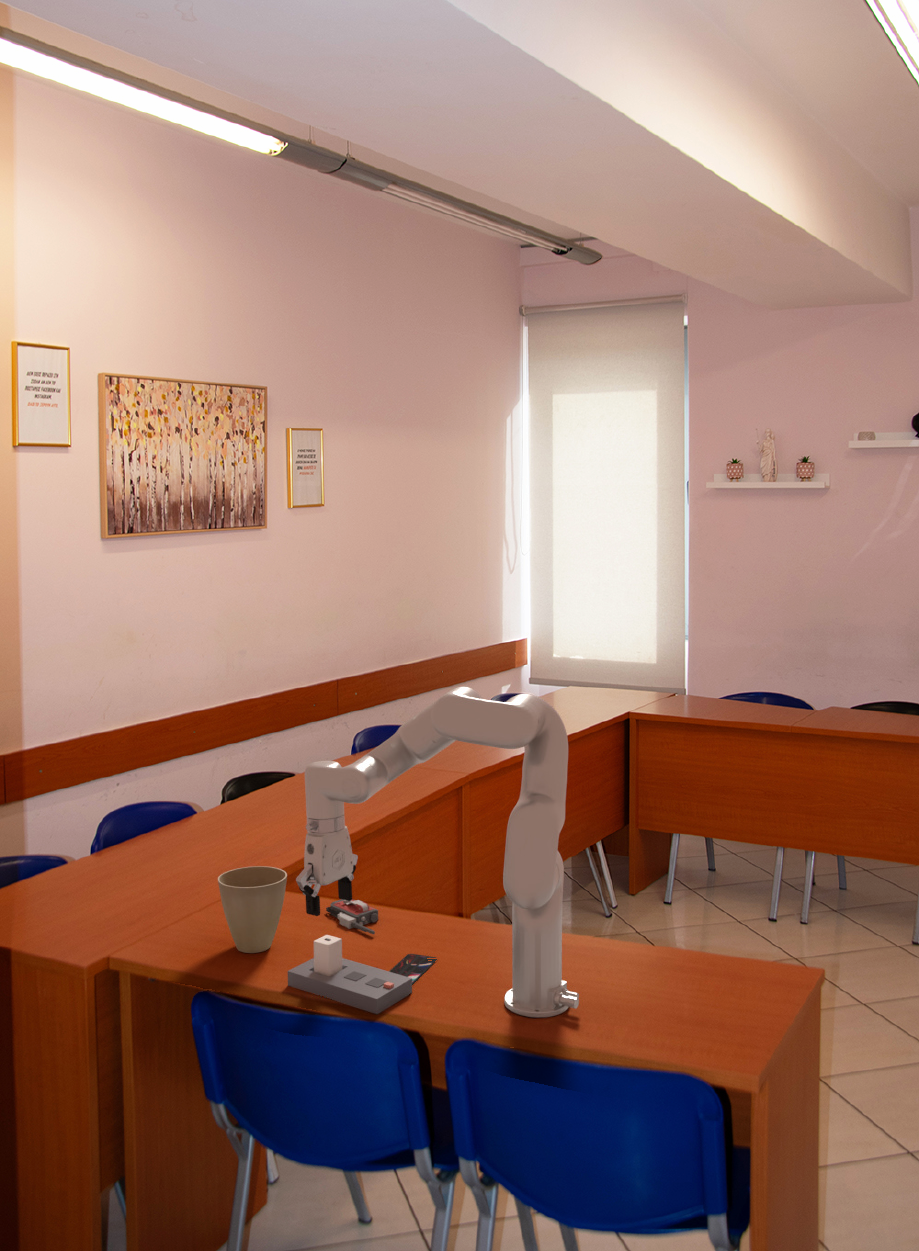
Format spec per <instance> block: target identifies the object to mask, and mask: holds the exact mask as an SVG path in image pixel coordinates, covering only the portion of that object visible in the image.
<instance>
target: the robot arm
mask: <svg viewBox="0 0 919 1251" xmlns="http://www.w3.org/2000/svg"><path fill="white" fill-rule="evenodd" d="M568 739H569V738H568V734H567V730H566V727H565V724H564V722H563V719H562V717H561V715H559V713H558V711H557V710H556V709H555V707H553V706H552V705H551V704H550V703H549V702H548V701H546V700H545V699H543V698H541V697H539V696H537V695H535V694H530V693H520V694H517V695H515V696H511V697H510V698H509V699H508V700H506V701H504V702H503V701H497V700H488V699H483V697H482V696H481V694H480V693H479V692H478V691H476V690H475V689H473V688H471V687H469V686H458V687H455V688H452V689H451V690H449V691H448V692H446V693H445V694H443V695H441V696H440V697H439V698H438V699H437V700H435V701H434V702H432V703H431V704H430V705H428V706H426V708H424V709H422V710H421V711H420V712H419V713H417V714H416V715H414V716H413V717H411V718H409V719H408V720H407V721H405V722H404V723H402V724H401V726H399V727H398V729H397V730H396V732H395V733H393V735H391V736H390V737H389V738H388V739H386V740H385V741H383V742H382V743H381V744H379V745H378V746H376V747H375V748H373V749H372V750H371V751H369V752H368V753H366V754H365V755H363V756H362V757H360V758H359V759H357V760H356V761H354V762H352V763H350V764H348V765H345V766H342V765H341V764H340V763H339V762H338V761H334V760H320V761H319V760H318V761H314V762H313V761H312V762H311V763H308V764H307V765H306V766H305V768H304V787H305V788H304V790H305V791H304V792H305V811H306V812H305V814H306V825H305V829H306V835H305V841H304V842H305V843H304V852H303V853H304V858H303V862H304V863H303V864H304V865H303V866H304V869H302V870H301V872H300V873H299V875H297V877H296V878H295V881H296V884H297V886H298V887H299V891H300V892H302V895H304V896H305V910H306V911H305V912H306V914H307V915H311V916H315V917H318V916H320V915H321V900H320V899H321V898H320V895H318V893H319V891H320V889H321V886H327V885H330V884H333V883H335V882H336V881H337V890H338V891H337V892H338V898H339V899H338V900H341V899H343V900H347V901H351V900H352V899H353V883H352V882H353V880H354V877H355V876H354V874H355V871H356V869H357V863H358V858H359V857H358V856H359V855H357V854H354V853H353V851H352V850H353V848H352V843H351V837H350V832H349V829H348V826H346V822H345V821H346V818H345V803H347V804H353V805H354V804H355V805H356V804H357V805H358V804H362V803H364V802H366V801H367V800H369V799H370V798H372V797H373V796H374V795H375V794H376V793H378V792H380V790H382V789H383V788H385V787H386V786H387V785H388V784H391V782H393V781H394V780H396V779H398V777H400V776H402V774H404V773H406V772H407V771H409V770H411V769H412V768H413V767H415V766H417V765H419V764H423V763H426V762H427V761H429V760H431V759H432V758H433V757H434V756H436V755H438V754H439V753H440V752H442V751H443V750H445V749H446V748H448V747H449V746H450V745H452V744H453V743H455V742H463V743H468V744H474V745H480V746H486V747H492V748H498V749H504V750H505V749H506V750H516V749H521V748H524V755H523V760H522V768H521V769H522V772H521V774H522V775H521V776H522V777H521V787H520V792H519V798H518V800H517V803H516V805H515V806H514V807H513V809H512V810H511V812H510V815H509V818H508V822H507V827H506V836H505V851H504V862H503V874H502V875H503V876H502V881H503V884H502V885H503V889H504V891H505V894H506V896H507V898H508V899H509V901H510V902H511V903H512V911H511V912H512V915H511V916H512V917H511V918H512V920H511V922H512V924H511V925H512V926H511V927H512V928H511V929H512V932H511V933H512V940H511V941H512V944H511V946H512V948H511V950H512V951H511V952H512V954H511V955H512V957H511V958H512V963H511V964H512V967H511V969H512V970H511V971H512V972H511V974H512V977H511V979H512V986H511V987H512V988H511V989H509V990H507V991H506V992H505V995H504V999H503V1000H504V1005H505V1007H506V1009H508V1010H510V1012H512V1013H514V1014H517V1015H519V1016H522V1017H523V1016H524V1017H527V1018H528V1017H529V1018H549V1017H554V1016H557V1015H560V1014H562V1013H564V1012H566V1011H567V1010H568V1009H569V1008H572V1009H576V1010H577V1008H578V1007H579V1005H580V1004H579V1003H580V999H579V997H580V994H579V993H578V992H575V991H570V990H569V989H567V988H568V987H567V986H568V984H567V983H568V982H567V981H566V980H563V979H562V977H563V975H562V974H563V973H562V972H563V970H562V969H563V960H562V959H563V957H562V956H563V947H562V946H563V945H562V943H563V898H564V897H563V894H564V882H565V881H564V878H565V868H564V862H563V858H562V856H561V853H560V852H559V849H558V848H559V838H560V834H561V831H562V829H563V826H564V825H565V820H566V801H567V799H566V798H567V784H568V766H569V765H568V764H569V763H568V762H569V741H568ZM313 885H314V886H313ZM312 886H313V887H312Z"/></svg>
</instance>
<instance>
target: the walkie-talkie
mask: <svg viewBox="0 0 919 1251" xmlns="http://www.w3.org/2000/svg"><path fill="white" fill-rule="evenodd" d="M326 912H327V913H328V914H330V916H332V917H334V918H337V919H338V920H339V925H341V926H342V927H345V928H347V929H348V930H350V929H353V928H354V929H357V930H360V931H362V932H364V933H369V934H372V935H375V934H376V931H375V930H373V929H370V928H368V927H366V926H364V925H368V924H371V923H376V922H377V921H379V909H376V908H374V907H371V906H369V904H368V903H367V902H365V901H362V900H359V899H357V900H355V899H353V898H352V900H351V901H347V900H343V899H338V900H335V901H332V902H331V903H330V905H329V906H328V907H326Z"/></svg>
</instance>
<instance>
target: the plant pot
mask: <svg viewBox="0 0 919 1251" xmlns="http://www.w3.org/2000/svg"><path fill="white" fill-rule="evenodd" d="M287 880H288V873H287V872H286V871H285V870H283V869H281V868H278V867H273V866H266V865H265V866H263V865H262V866H261V865H257V866H256V865H253V866H246V867H240V868H239V867H238V868H234V869H231V870H228V871H224V872H222V873H221V874H220V875H219V876H218V877H217V883H218V884H217V885H218V888H219V895H220V899H221V900H220V901H221V905H222V909H223V912H224V916H225V920H226V923H227V926H228V929H229V932H230V935H231V938H232V941H233V942H234V945H235V947H236V949H237V950H238V951H239V952H242V953H246V954H257V953H262V952H265V951H268V950H269V949H270V948H271V946H272V945H273V942H274V938H275V935H276V932H277V929H278V926H279V923H280V918H281V914H282V910H283V906H284V901H285V894H286V889H287V888H286V886H287Z"/></svg>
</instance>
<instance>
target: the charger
mask: <svg viewBox="0 0 919 1251" xmlns="http://www.w3.org/2000/svg"><path fill="white" fill-rule="evenodd" d="M313 958H314V972H317V973H320V974H323V975H326V976H331V975H333V974H335V973H337V972H339V971H341V970H342V958H343V938H340V937H337V936H333V935H329V934H324V935H323V936H321V937H319V938H317V939H315V940H313Z"/></svg>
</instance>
